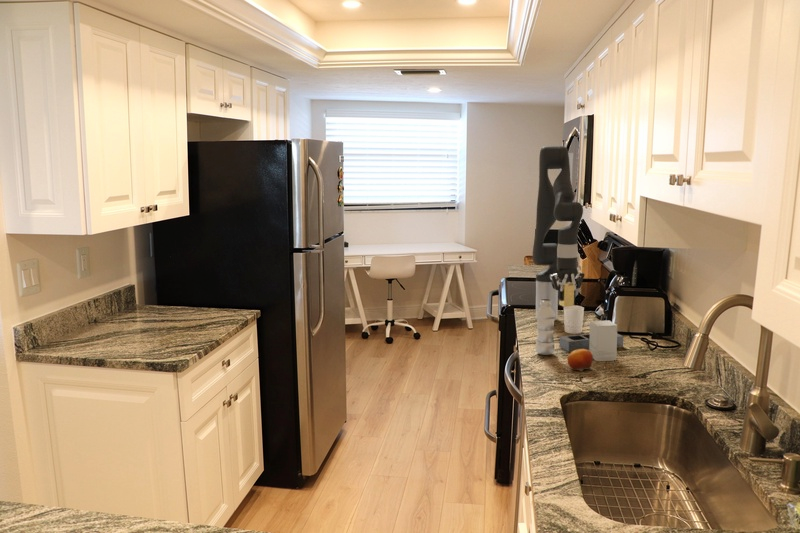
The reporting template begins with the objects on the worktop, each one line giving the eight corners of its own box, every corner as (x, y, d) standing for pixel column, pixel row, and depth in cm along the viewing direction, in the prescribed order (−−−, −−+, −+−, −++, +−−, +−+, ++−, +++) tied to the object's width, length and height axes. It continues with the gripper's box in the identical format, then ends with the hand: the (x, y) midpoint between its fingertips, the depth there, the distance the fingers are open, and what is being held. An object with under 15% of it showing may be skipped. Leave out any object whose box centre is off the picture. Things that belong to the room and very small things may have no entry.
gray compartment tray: (559, 347, 237) (559, 336, 237) (612, 341, 242) (612, 331, 242) (568, 352, 231) (568, 341, 230) (623, 346, 236) (623, 336, 235)
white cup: (581, 329, 261) (582, 305, 259) (585, 334, 253) (585, 309, 252) (561, 329, 262) (562, 305, 260) (564, 334, 254) (565, 309, 252)
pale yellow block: (559, 304, 244) (559, 284, 243) (568, 303, 245) (569, 283, 244) (564, 306, 240) (564, 286, 239) (573, 305, 241) (574, 285, 240)
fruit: (583, 371, 206) (575, 347, 208) (568, 377, 212) (560, 354, 215) (602, 367, 209) (593, 344, 212) (587, 373, 216) (579, 350, 218)
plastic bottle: (539, 350, 234) (540, 297, 230) (557, 353, 230) (558, 299, 227) (532, 355, 229) (532, 300, 225) (550, 358, 225) (551, 302, 221)
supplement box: (617, 360, 220) (618, 325, 218) (596, 361, 220) (596, 326, 217) (608, 354, 227) (609, 319, 225) (588, 355, 227) (589, 320, 225)
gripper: (579, 252, 245) (578, 296, 248) (545, 255, 241) (544, 299, 245) (589, 255, 237) (588, 300, 240) (554, 258, 234) (553, 303, 237)
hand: (566, 299), depth 243 cm, fingers closed on pale yellow block, 4 cm apart
